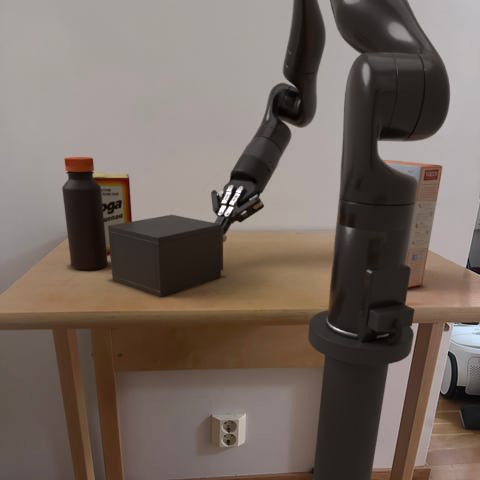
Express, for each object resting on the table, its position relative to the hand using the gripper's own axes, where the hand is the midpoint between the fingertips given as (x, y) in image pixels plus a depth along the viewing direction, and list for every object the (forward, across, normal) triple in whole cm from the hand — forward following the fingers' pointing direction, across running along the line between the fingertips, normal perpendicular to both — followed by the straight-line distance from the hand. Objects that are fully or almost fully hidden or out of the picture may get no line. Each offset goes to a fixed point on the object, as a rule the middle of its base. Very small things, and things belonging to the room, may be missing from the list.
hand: (216, 234), depth 95 cm
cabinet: (+13, 0, -5) cm, 14 cm away
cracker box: (-6, +29, +15) cm, 33 cm away
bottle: (+17, -17, -8) cm, 25 cm away
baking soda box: (+10, -24, -1) cm, 26 cm away
